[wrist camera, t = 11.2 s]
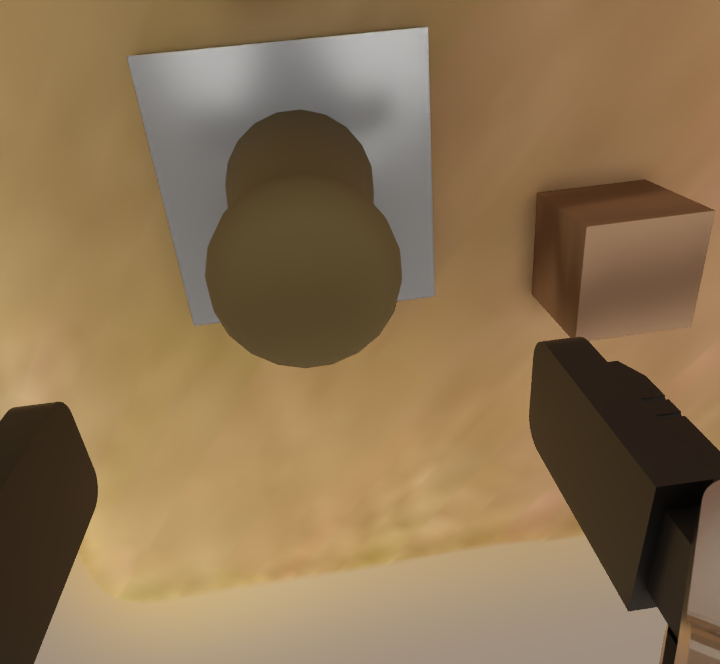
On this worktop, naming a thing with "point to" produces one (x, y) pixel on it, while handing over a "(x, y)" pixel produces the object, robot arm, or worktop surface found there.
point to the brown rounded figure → (302, 244)
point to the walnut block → (619, 258)
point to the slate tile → (286, 93)
